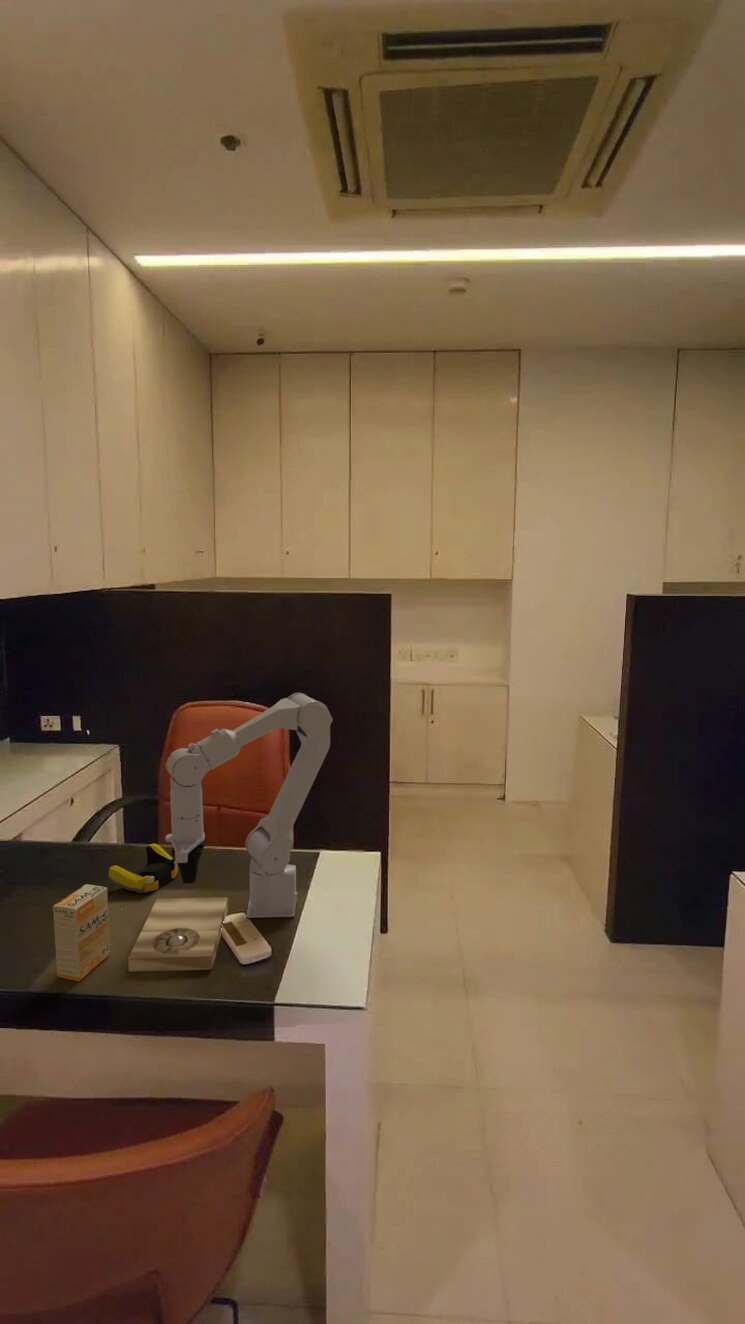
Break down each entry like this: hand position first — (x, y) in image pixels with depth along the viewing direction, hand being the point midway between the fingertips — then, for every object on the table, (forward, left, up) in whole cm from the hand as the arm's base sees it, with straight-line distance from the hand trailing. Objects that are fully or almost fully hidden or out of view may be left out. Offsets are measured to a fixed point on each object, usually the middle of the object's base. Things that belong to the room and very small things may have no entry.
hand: (189, 881), depth 128 cm
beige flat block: (+1, +4, -9) cm, 10 cm away
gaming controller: (+13, -19, -10) cm, 25 cm away
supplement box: (+16, +12, -10) cm, 22 cm away
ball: (+1, +8, -8) cm, 11 cm away
